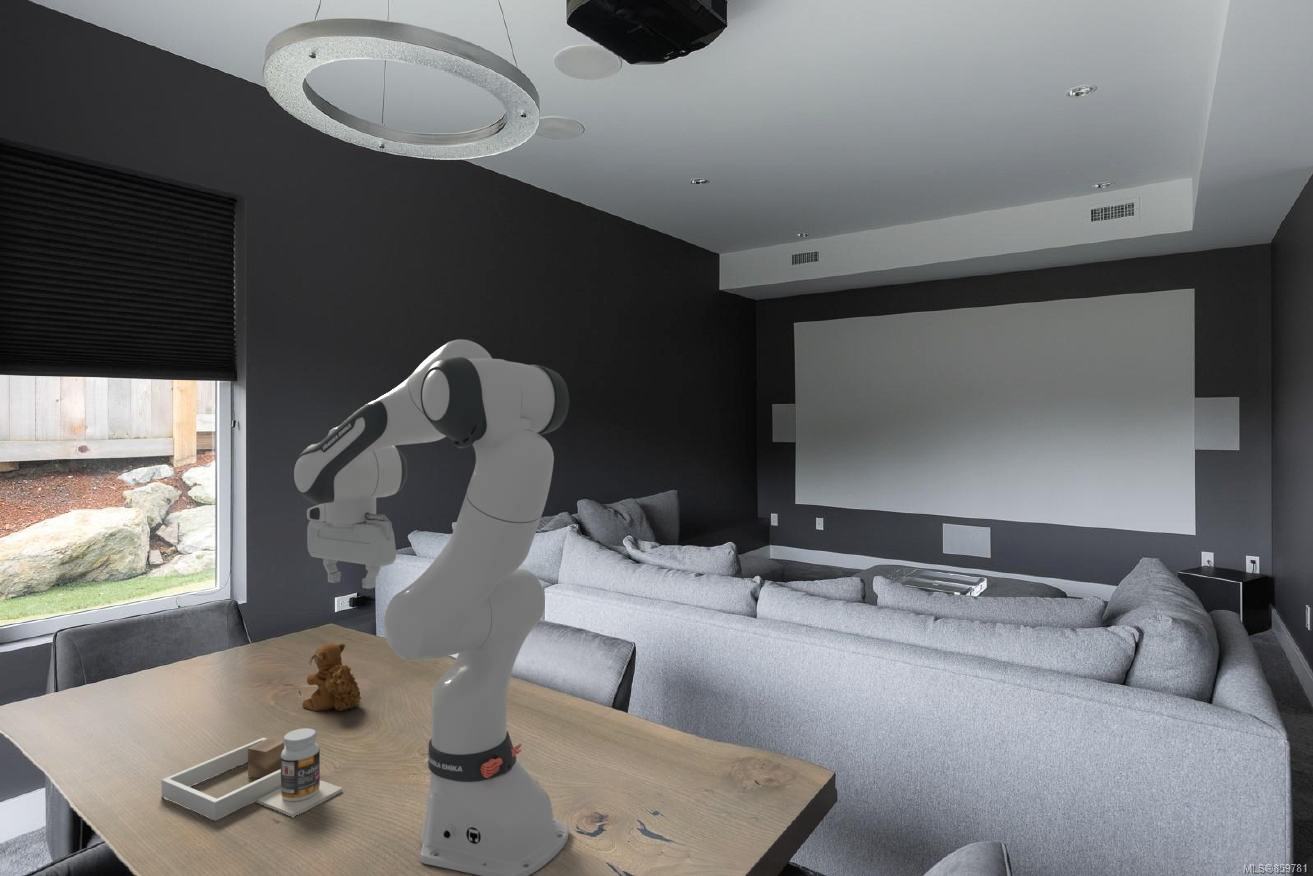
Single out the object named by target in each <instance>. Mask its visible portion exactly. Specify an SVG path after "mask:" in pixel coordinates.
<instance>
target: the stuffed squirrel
mask: <svg viewBox="0 0 1313 876" xmlns="http://www.w3.org/2000/svg"><path fill="white" fill-rule="evenodd" d="M345 648H346V644H345V643H343V642H341V643H340V644H336V643H326V644H323V645H321V646H319V647H318V648H317V649H316V651H314V652H315V653H314V655H312V656H311V658H310V659H309V661H308V663H307V665H310V666H312V661H313V660H314V662H315V664H316V667H317V668H318V672H316V673H310V674H308V675H307V678H306V683H307V684H308V685H309V686H313V685H315V686H317V689H316V691H314V692H313V693H312V694H311V695H310V698H306V699H305V700H303V701H302V704H301V705H302V708H304V709H306V710H307V709H308V710H310V711H313V712H314V711H315V712H316V711H329V710H332V709H335V710H336V711H338V712H339V711H340V712H344V711H347V710H351V709H353V708H356V707H357V706H358V705H359V703H360V700H362V697H361V692H360V688H359V685H358V682H357V681H356V677H355V674H353V673H351V671H352V668H350V667H349V665H347V664H344V665H343V663H342V661H343V659H342V656H341V655H342V653H343V651H344V650H345Z"/></svg>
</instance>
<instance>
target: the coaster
mask: <svg viewBox="0 0 1313 876" xmlns="http://www.w3.org/2000/svg"><path fill="white" fill-rule="evenodd" d="M342 792H343V787H341V786H338V785H336V784H332V783H330V782H327V781H324V780H321V779H320V787H319V790H318V792H317V793H316V794H315V795H313V796H312V797H310V798H307V799H304V800H300V801H287V800H285V799H283V798H282V796H281V788H280V789H278V790H276V791H274V792H272V793H270V794H268V795H266V796H264V797H261V798H259V799H257V801H256V804H257V803H259V804H258V805H260V804H262V805H264V806H263V807H265V806H268V807H271V808H273V809H274V810H273V811H275V810H278V811H279V812H278V813H280V812H281V813H280V814H282V813H283V814H282V815H284V814H286V815H285V816H287V815H288V816H287V817H289V816H292V817H294V818H296V817H297V816H296V815H298V816H300V815H302V814H303V812H304V813H305V812H307V811H308V810H310V809H313V808H315V807H316V806H318V805H320V804H322V803H324V802H326V801H327V800H330V799H332V798H333V797H334V796H335V797H336V795H339V794H341V793H342ZM262 805H261V806H262ZM301 813H302V814H301ZM299 814H300V815H299ZM295 816H296V817H295ZM292 817H291V818H292Z"/></svg>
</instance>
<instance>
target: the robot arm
mask: <svg viewBox="0 0 1313 876" xmlns="http://www.w3.org/2000/svg"><path fill="white" fill-rule="evenodd" d="M565 381H566V380H564V378H563V377H562V376H561V375H560V373H558V372H556V371H554V370H552V369H551V368H548V367H545V366H542V365H538V364H525V363H521V362H515V361H509V360H505V359H502V358H493V357H492V356H491V354H490V353H489V352H488V351H487V350H486V349H485V348H484V347H483V346H481V345H480V344H478V343H476V342H474V341H472V340H470V339H469V340H468V339H455V340H451V341H447V343H445V344H444V345H442V346H440V347H439V348H438V349H436V350H435V351H433V353H431V354H430V355H428V357H426V359H424V360H423V361H422V362H421V363H420V364H419V365H418V367H416V369H415V370H414V371H413V372H412V373H411V375H409V376H408V377H407V378H406V379H405V380H404V381H403V382H401V383H400V384H399V385H397V386H396V387H394V388H393V389H392V390H390V391H388V392H386V393H385V394H383V395H381V396H380V397H378V398H377V399H375V400H372V401H370V402H368V403H366V404H364V405H363V406H362V407H359V408H358V409H357V410H356V411H354V412H353V413H352V414H351V415H350V416H349V417H348V418H347V419H345V420H344V421H343V422H342V423H341V424H340V425H338V426H336V427H333V428H332V429H330V430H329V431H328V434H327V436H325V438H324V439H322V440H321V441H320V442H318V443H314V444H313V443H312V444H310V445H309V446H308V447H306V448H305V449H304V450H303V451H302V452H301V453H300V454H299V456H298V457H297V458H296V460H295V463H294V465H293V470H292V471H293V472H292V473H293V474H292V480H293V484H294V487H295V489H296V491H297V492H298V493H299V494H300V495H301V496H302V497H303V498H304V499H306V500H308V501H309V502H310V503H312V504H314V506H312V507H309V508H307V510H306V518H307V520H309V522H308V524H307V531H306V532H307V534H306V535H307V536H306V539H307V540H306V541H307V542H306V543H307V551H308V553H309V555H310V557H312V558H318V559H322V564H323V567H324V569H325V571H326V573H327V582H328V583H333V584H336V583H340V582H341V579H342V578H341V577H342V575H341V574H342V572H341V571H339V570H338V567H337V563H338V562H345V563H351V564H352V563H354V564H359V565H365V571H367V573H366V576H365V577H364V578H362V580H361V584H362V585H361V586H362V588H364V589H367V590H368V589H369V590H370V589H373V588H376V583H377V582H376V581H377V580H376V578H377V576H378V575H379V572H380V571H381V568H382V567H385V566H389V565H393V564H394V562H395V561H396V558H397V549H396V539H395V534H394V529H393V526H392V524H393V523H392V521H390V519H389V518H387V516H386V515H385V514H378V513H377V498H386V497H389V496H393V495H396V494H398V493H399V492H400V491H401V490H402V488H403V487H404V486H405V483H406V481H407V478H408V464H407V458H406V457H405V455H404V454H403V453H402V451H401V450H400V449H399V448H397V447H396V446H402V445H414V444H424V443H432V442H436V441H440V440H442V439H444V438H446V437H447V438H448V439H449V440H450V442H451V443H452V446H454V447H456V448H458V449H467V448H468V447H471V446H472V447H473V449H474V452H475V465H474V469H473V472H472V475H471V478H470V481H469V483H468V486H467V490H466V493H465V496H464V500H463V502H462V505H461V508H460V511H459V515H458V517H457V519H456V520H457V521H456V523H455V524H454V525H455V526H454V528H453V531H452V534H451V535H450V537H449V538H448V539H449V540H448V541H447V543H446V544H445V546H444V547H443V549H441V551H440V553H439V554H438V555H437V557H436V558H435V559H434V560H433V562H432V563H431V564H430V566H428V568H427V569H426V570H425V571H424V572H423V573H422V574H421V575H420V576H419V577H418V578H417V579H416V580H415V581H414V582H412V583H411V584H409V586H407V587H405V588H404V589H403V590H401V591H400V592H398V593H396V594H395V595H394V596H393V597H392V598H391V600H390V601H389V603H388V605H387V607H386V610H385V611H384V612H385V613H384V616H383V632H384V636H385V640H386V642H387V645H388V646H389V647H390V649H391V650H392V651H393V652H394V653H395V655H396V656H398V658H400V659H402V660H405V661H427V660H439V659H442V658H446V657H449V656H452V655H456V654H457V656H456V659H455V661H454V662H453V664H452V665H451V667H450V668H449V669H448V670H447V671H446V672H445V673H444V674H443V675H442V676H441V677H439V679H438V681H436V684H435V685H434V688H433V690H432V694H431V704H430V705H431V707H430V708H431V709H430V710H431V711H430V712H431V717H430V718H431V728H430V729H431V732H430V733H431V737H430V739H429V741H428V752H427V761H428V762H427V763H428V766H427V768H428V770H429V771H430V776H429V777H430V778H429V787H428V795H427V803H426V810H425V815H424V820H423V824H422V827H421V830H420V833H419V840H420V844H421V849H420V854H419V855H420V856H419V861H420V863H422V864H425V865H429V866H430V865H431V866H435V867H439V868H443V869H444V868H445V869H449V870H452V871H458V872H463V873H467V874H472V875H477V876H530V875H532V874H534V873H535V872H537V871H539V870H540V869H541V868H543V867H544V866H545V865H547V863H549V862H551V860H553V858H555V857H556V856H557V855H558V854H559V853H560V851H562V849H563V848H564V847H565V845H566V843H567V842H568V838H569V835H570V830H569V825H568V824H567V823H565V822H563V821H561V820H560V819H557V818H556V817H554V813H553V806H552V805H553V804H552V801H551V798H550V795H549V794H548V792H547V791H546V789H545V790H544V788H543V787H542V786H541V784H540V782H539V781H538V780H537V779H536V778H533V777H532V775H530V774H529V772H527V770H526V769H525V768H524V767H523V766H522V765H521V764H520V762H518V761H517V754H520V752H522V749H521V747H522V743H520V744H518V745H516V746H513V742H512V739H511V736H510V733H509V732H508V730H507V725H508V724H507V722H508V718H507V717H508V698H509V697H508V694H509V687H510V686H509V685H510V680H511V675H512V671H513V670H514V666H515V663H516V660H517V658H518V656H519V653H520V650H521V648H522V646H523V645H524V643H525V640H526V639H527V637H528V636H529V634H530V633H531V632H532V630H533V629H534V628H535V627H536V626H537V625H538V624H539V622H540V621H541V619H542V618H543V614H544V611H545V607H546V606H545V605H546V596H545V591H544V589H543V586H542V583H541V582H540V580H539V579H538V577H537V576H536V575H535V574H534V573H533V572H532V571H530V570H528V569H521V568H519V567H521V566H522V564H523V563H524V562H525V561H526V559H527V557H528V555H529V553H530V550H531V546H532V544H533V542H534V538H535V536H536V532H537V530H538V527H539V524H540V521H541V518H542V515H543V512H544V510H545V506H546V503H547V499H548V496H549V491H550V487H551V482H552V477H553V476H552V475H553V471H554V460H555V456H554V450H553V447H552V445H551V443H549V442H548V440H547V439H546V438H545V437H543V436H542V435H545V434H548V433H551V432H552V433H553V431H556V430H557V429H558V428H560V427H561V426H562V424H563V423H564V421H565V420H566V418H567V416H568V412H569V407H570V393H569V389H568V387H567V386H568V385H567V383H566V382H565Z"/></svg>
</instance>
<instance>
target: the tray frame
mask: <svg viewBox="0 0 1313 876" xmlns="http://www.w3.org/2000/svg"><path fill="white" fill-rule="evenodd" d="M265 739H268V738H266V737H261V738H259V739H256V740H253V741H252V742H250V743H247V744H244V745H242V746H240V747H237V748H235V749H232V750H230V751H227V752H225V753H223V754H221V755H217V756H216V757H213V758H211V759H209V760H205V761H204V762H201V763H198V764H196V765H194V766H191V767H189V768H187V769H186V768H185V769H184V770H181V771H180V772H177V773H174V774H173V775H170V776H167V777H165V778H162V779H161V798H162V797H166V798H168V799H169V800H172V801H175V802H177V803H179V804H181V805H183V806H185V807H188V808H190V809H191V810H195V811H197V812H199V813H201V814H203V815H206V816H208V817H209V818H211V819H213V820H217V819H219V820H221V819H220V817H223V816H225V815H227V814H229V813H231V812H233V811H234V810H238V809H239V808H242V807H244V806H246V807H248V806H250V805H251V804H250V803H252V802H254V801H256V802H257V799H259V798H261V797H264V796H266V795H268V794H270V793H272V792H274V791H276V790H278V789H280V788H281V769H280V770H278V771H275V772H273V773H271V774H269V775H267V776H265V777H263V778H260V779H257V780H254V781H252V782H250V783H248V784H246V785H243V786H241V787H240V788H237V789H235V790H233V791H231V792H229V793H226V794H224V795H222V796H220V797H217V798H216V797H215V796H212V795H210V794H207V793H204V792H202V791H200V790H197V789H195V788H193V787H191V788H190V787H189V786H192V785H193V784H195V783H199V782H201V781H203V780H205V779H207V778H211V777H213V776H215V775H217V774H220V773H222V772H225V771H227V770H229V769H232V770H234V769H236V768H237V767H236V766H239V765H241V766H243V765H245V763H246V764H248V763H247V762H248V748H250V747H252V746H254V745H256V744H258V743H260V742H261V741H263V740H265ZM285 748H286V746H285ZM235 767H236V768H235ZM239 767H240V766H239ZM233 768H234V769H233ZM227 772H228V771H227ZM225 773H226V772H225ZM220 775H221V774H220ZM211 779H212V778H211ZM254 803H255V802H254ZM249 804H250V805H249ZM252 804H253V803H252ZM247 805H248V806H247ZM244 808H245V807H244ZM242 809H243V808H242ZM238 811H239V810H238ZM225 817H226V816H225ZM223 818H224V817H223ZM211 819H210V820H211ZM213 820H212V821H213ZM217 821H218V820H217Z"/></svg>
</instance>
